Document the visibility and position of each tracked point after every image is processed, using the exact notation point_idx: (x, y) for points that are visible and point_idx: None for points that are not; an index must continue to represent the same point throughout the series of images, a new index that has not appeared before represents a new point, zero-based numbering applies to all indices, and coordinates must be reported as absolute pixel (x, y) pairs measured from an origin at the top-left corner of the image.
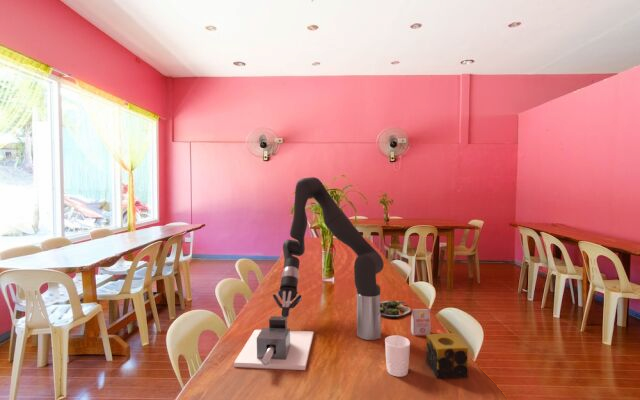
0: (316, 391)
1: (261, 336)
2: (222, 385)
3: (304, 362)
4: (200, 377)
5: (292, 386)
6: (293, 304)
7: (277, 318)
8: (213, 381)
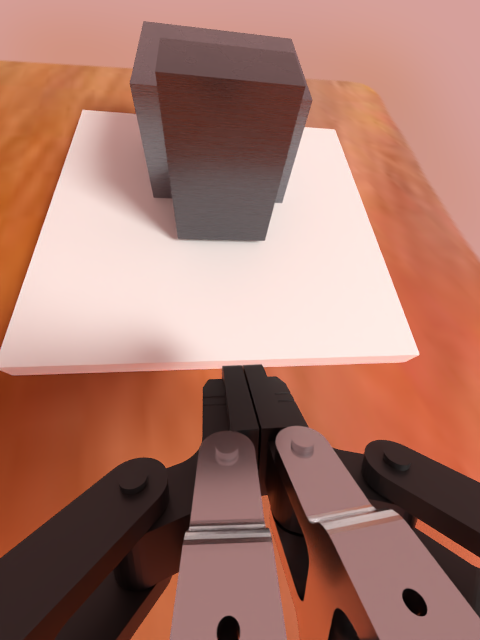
0: (59, 70)
1: (275, 46)
2: (312, 95)
3: (84, 121)
4: (385, 117)
5: (128, 84)
6: (100, 491)
7: (234, 60)
8: (343, 105)
